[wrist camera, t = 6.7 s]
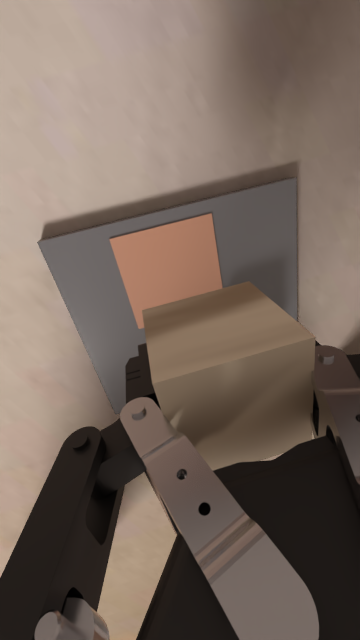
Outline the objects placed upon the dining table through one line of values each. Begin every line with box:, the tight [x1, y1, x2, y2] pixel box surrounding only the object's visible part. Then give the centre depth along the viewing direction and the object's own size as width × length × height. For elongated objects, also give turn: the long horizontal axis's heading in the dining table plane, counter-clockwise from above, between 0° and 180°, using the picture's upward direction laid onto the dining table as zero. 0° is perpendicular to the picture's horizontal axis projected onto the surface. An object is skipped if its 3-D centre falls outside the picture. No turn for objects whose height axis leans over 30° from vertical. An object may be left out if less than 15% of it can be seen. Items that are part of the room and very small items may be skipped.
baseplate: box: [37, 178, 297, 414], centre depth 26 cm, size 20×18×1 cm
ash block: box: [142, 281, 315, 471], centre depth 12 cm, size 5×5×5 cm
